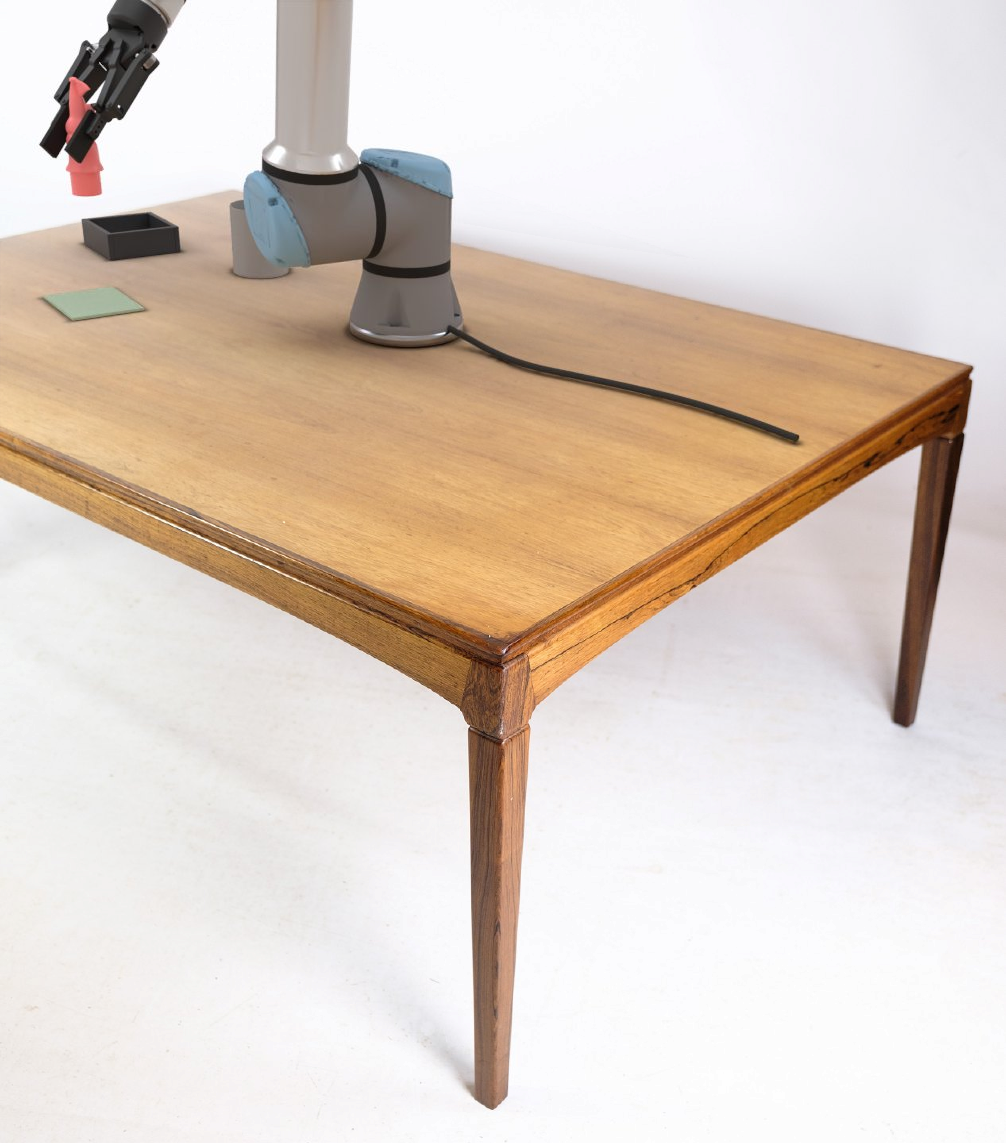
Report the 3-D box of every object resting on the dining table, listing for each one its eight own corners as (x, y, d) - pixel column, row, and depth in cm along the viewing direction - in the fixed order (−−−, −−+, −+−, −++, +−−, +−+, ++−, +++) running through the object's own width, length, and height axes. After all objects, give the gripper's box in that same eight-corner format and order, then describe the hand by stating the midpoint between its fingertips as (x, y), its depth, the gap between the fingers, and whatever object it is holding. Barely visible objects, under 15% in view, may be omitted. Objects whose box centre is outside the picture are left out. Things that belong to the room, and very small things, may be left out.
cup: (294, 265, 201) (292, 200, 197) (281, 279, 194) (278, 212, 189) (241, 262, 202) (237, 197, 197) (226, 276, 195) (222, 209, 190)
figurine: (115, 193, 177) (104, 77, 170) (86, 199, 174) (73, 81, 166) (89, 187, 180) (77, 73, 173) (60, 193, 176) (46, 76, 169)
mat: (144, 310, 178) (144, 307, 178) (72, 321, 173) (72, 318, 173) (112, 289, 187) (112, 286, 186) (43, 298, 181) (43, 295, 181)
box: (180, 251, 206) (178, 226, 204) (110, 260, 200) (107, 234, 198) (153, 236, 214) (150, 211, 213) (84, 243, 208) (81, 218, 207)
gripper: (205, 38, 175) (122, 181, 170) (119, 27, 183) (37, 163, 179) (172, -3, 168) (84, 144, 164) (84, -12, 177) (-2, 127, 172)
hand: (60, 153), depth 171 cm, fingers closed on figurine, 4 cm apart
